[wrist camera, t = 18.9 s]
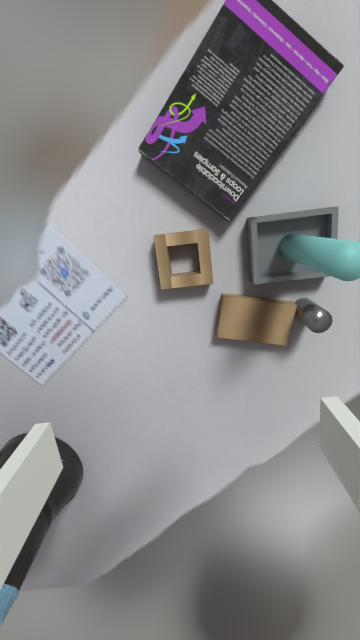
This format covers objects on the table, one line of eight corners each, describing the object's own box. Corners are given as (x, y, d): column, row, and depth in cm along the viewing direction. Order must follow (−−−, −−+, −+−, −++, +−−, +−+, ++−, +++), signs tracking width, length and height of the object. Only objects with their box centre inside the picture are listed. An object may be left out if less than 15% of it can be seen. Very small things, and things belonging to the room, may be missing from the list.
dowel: (277, 235, 39) (331, 243, 24) (302, 232, 39) (373, 238, 23) (278, 260, 40) (330, 282, 25) (302, 257, 40) (370, 278, 24)
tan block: (215, 331, 45) (217, 337, 42) (221, 292, 43) (223, 296, 40) (282, 339, 44) (286, 345, 42) (291, 300, 43) (296, 305, 40)
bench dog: (292, 319, 43) (307, 334, 37) (292, 299, 42) (307, 311, 36) (313, 317, 43) (331, 331, 37) (313, 297, 42) (332, 308, 36)
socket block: (163, 285, 42) (161, 289, 40) (155, 235, 40) (153, 235, 38) (212, 280, 42) (213, 283, 39) (207, 228, 40) (208, 229, 37)
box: (238, -6, 33) (139, 155, 38) (243, -33, 29) (134, 148, 34) (331, 81, 35) (226, 223, 40) (346, 65, 31) (228, 222, 36)
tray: (250, 280, 42) (254, 284, 39) (247, 217, 39) (250, 217, 36) (327, 272, 41) (335, 275, 38) (329, 207, 38) (338, 206, 36)
